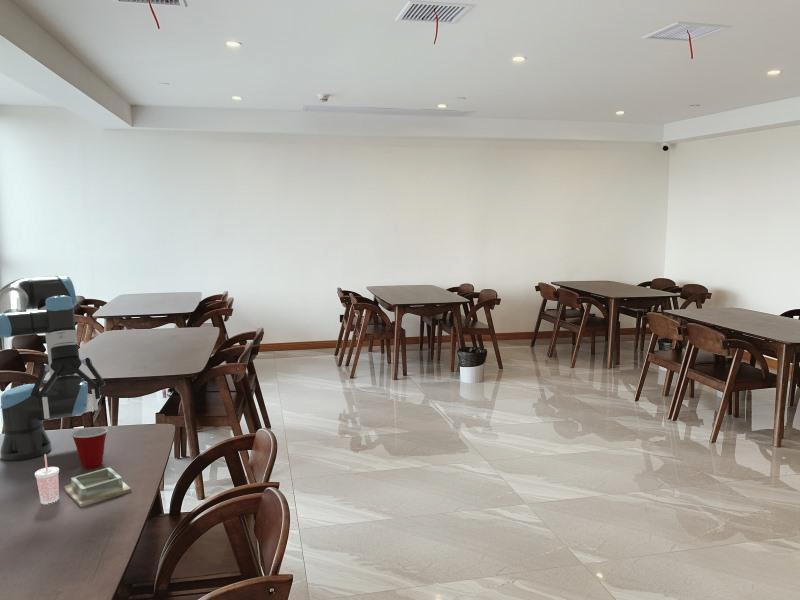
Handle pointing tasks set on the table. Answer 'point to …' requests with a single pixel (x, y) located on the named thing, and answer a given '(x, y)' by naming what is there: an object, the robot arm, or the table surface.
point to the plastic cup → (90, 446)
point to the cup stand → (96, 486)
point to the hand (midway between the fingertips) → (71, 414)
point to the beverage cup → (48, 483)
